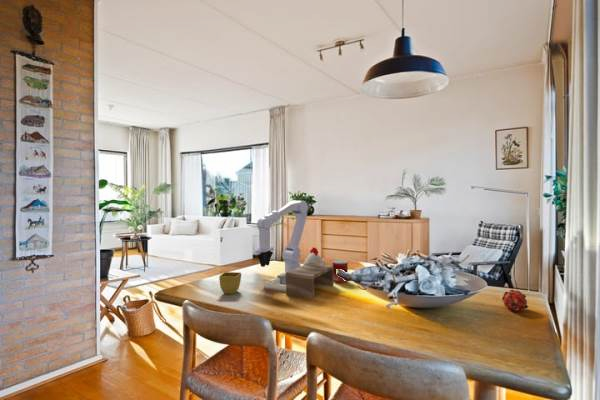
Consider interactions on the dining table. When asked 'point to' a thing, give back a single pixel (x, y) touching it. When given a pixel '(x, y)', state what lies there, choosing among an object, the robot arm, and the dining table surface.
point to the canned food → (339, 265)
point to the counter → (308, 279)
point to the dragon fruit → (514, 300)
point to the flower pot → (230, 282)
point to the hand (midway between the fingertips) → (265, 265)
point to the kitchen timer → (314, 258)
